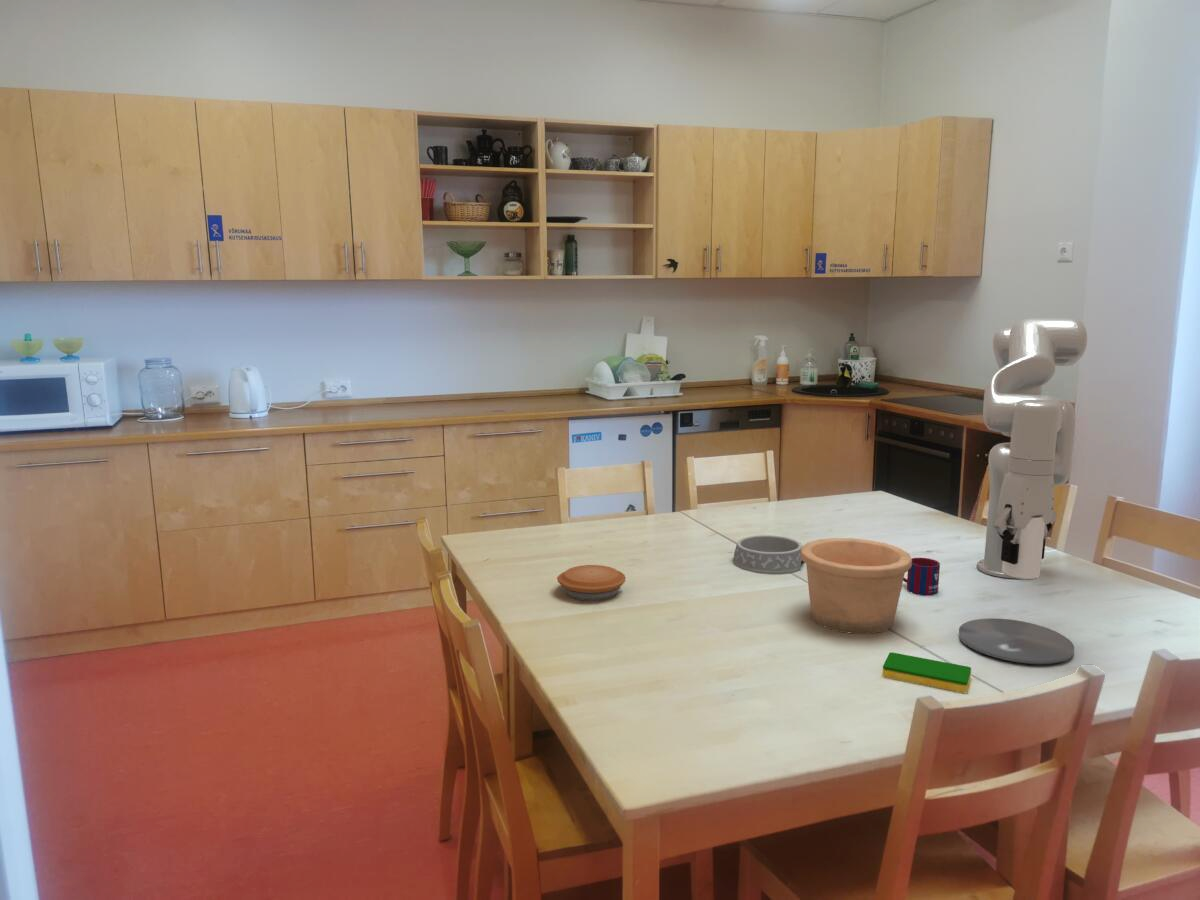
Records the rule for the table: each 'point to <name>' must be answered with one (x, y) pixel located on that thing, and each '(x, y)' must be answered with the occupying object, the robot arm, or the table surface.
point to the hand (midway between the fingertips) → (1022, 558)
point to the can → (1027, 551)
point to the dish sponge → (927, 672)
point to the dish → (1016, 641)
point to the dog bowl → (768, 554)
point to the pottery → (854, 583)
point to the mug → (923, 576)
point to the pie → (591, 582)
